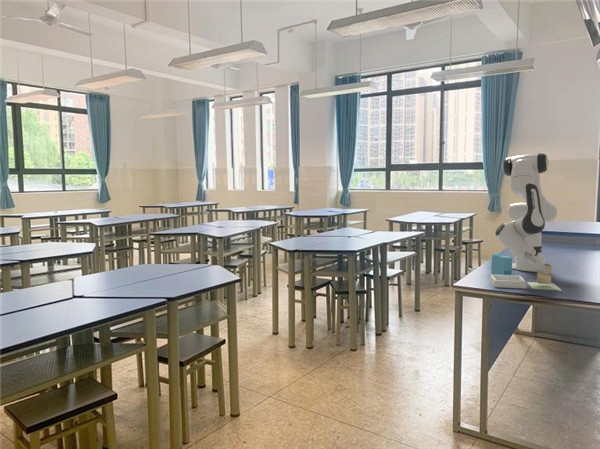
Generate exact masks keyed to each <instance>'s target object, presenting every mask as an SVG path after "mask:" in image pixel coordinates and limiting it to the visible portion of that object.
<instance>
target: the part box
mask: <svg viewBox="0 0 600 449" xmlns="http://www.w3.org/2000/svg"><path fill="white" fill-rule="evenodd" d="M544 265H545V266H546V267H545V269H546V270H547V271H548V272H549V273H548V274H547V275H546V274H544V273H543V272H542V271H539V270H538V269H537V272H536V283H539V284H551V283H552V265H551V264H549V263H545V264H544Z"/></svg>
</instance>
